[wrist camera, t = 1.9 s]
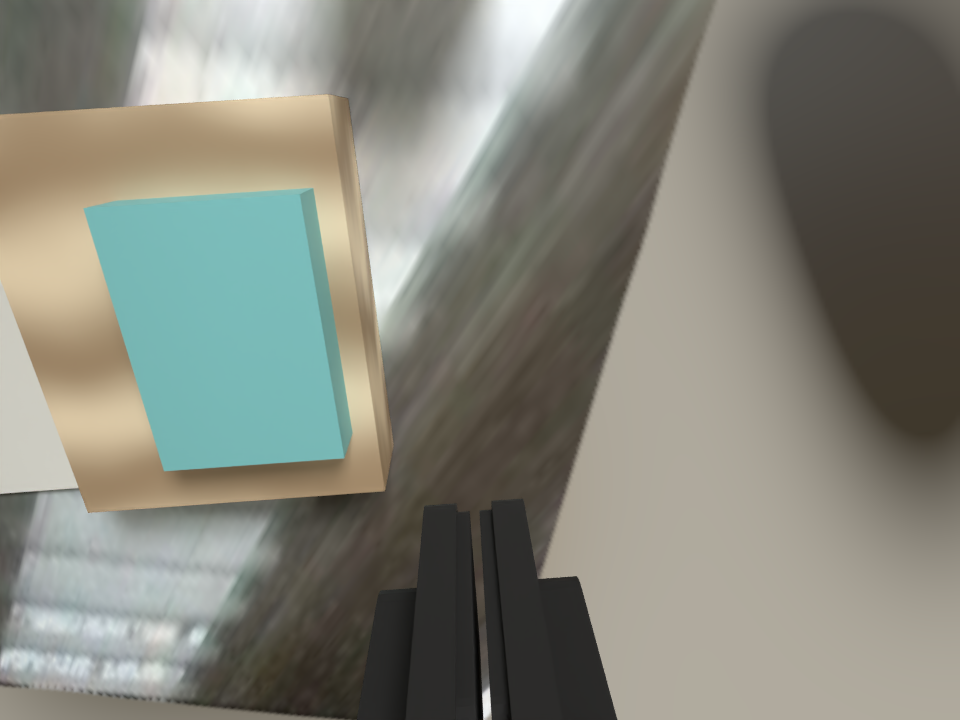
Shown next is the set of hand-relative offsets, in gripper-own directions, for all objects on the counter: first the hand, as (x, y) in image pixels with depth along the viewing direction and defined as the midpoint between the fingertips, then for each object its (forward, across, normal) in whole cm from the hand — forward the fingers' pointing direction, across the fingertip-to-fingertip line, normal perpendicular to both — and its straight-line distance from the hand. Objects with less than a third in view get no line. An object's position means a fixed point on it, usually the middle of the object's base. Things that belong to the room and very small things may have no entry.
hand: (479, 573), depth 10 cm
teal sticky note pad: (+14, +9, 0) cm, 16 cm away
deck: (+18, +11, 0) cm, 21 cm away
